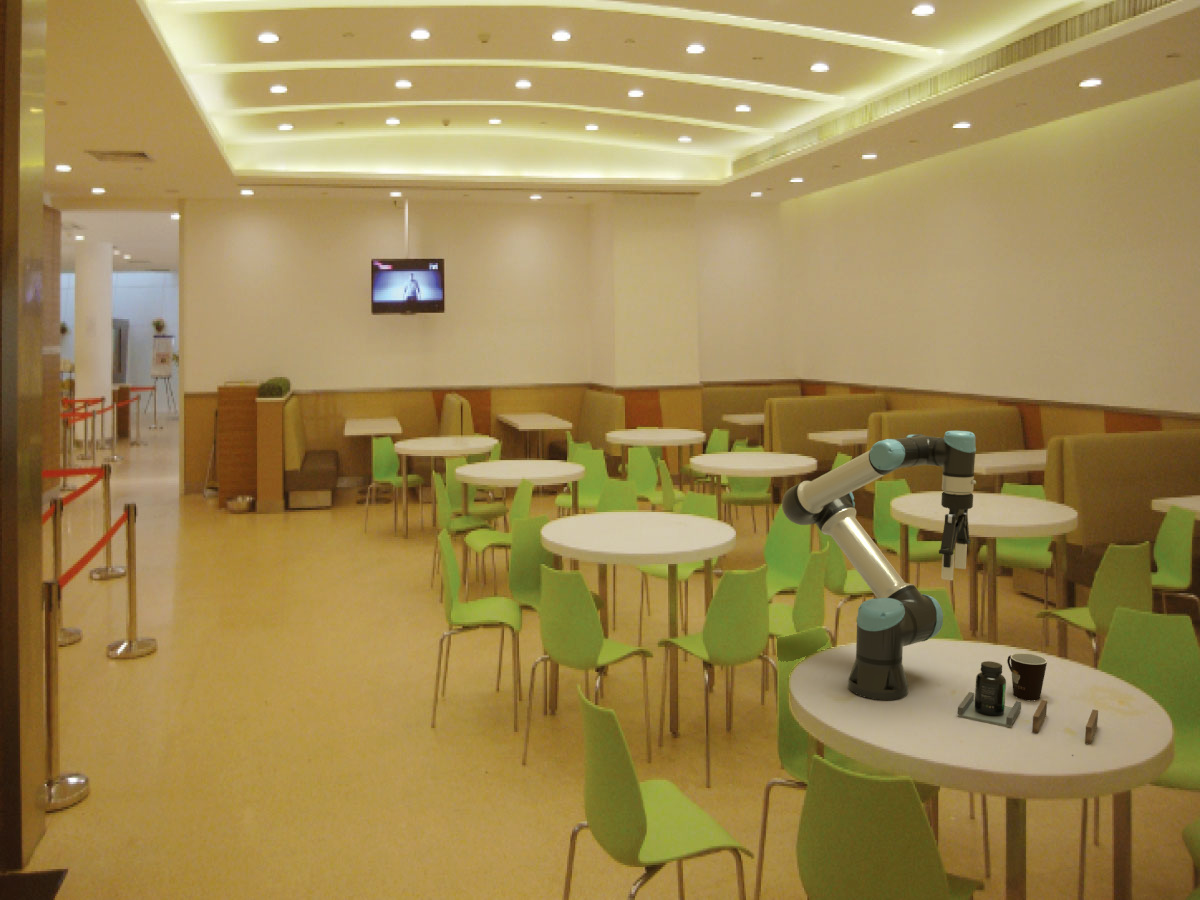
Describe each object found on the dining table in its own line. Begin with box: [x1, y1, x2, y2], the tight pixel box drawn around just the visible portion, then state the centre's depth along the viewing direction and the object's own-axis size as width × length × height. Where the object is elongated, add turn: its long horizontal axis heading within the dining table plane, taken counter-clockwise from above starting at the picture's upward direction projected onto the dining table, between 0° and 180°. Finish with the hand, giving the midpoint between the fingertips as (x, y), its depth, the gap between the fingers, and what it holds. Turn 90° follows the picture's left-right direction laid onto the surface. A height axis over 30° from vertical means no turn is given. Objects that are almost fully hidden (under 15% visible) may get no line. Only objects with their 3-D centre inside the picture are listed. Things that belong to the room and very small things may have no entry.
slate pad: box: [957, 691, 1022, 729], centre depth 241 cm, size 12×12×2 cm
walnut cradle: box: [1031, 699, 1099, 745], centre depth 232 cm, size 12×12×4 cm
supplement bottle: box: [974, 660, 1007, 716], centre depth 241 cm, size 7×7×12 cm
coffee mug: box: [1006, 652, 1048, 702], centre depth 254 cm, size 12×9×10 cm
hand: (953, 573), depth 251 cm, fingers open, 13 cm apart
